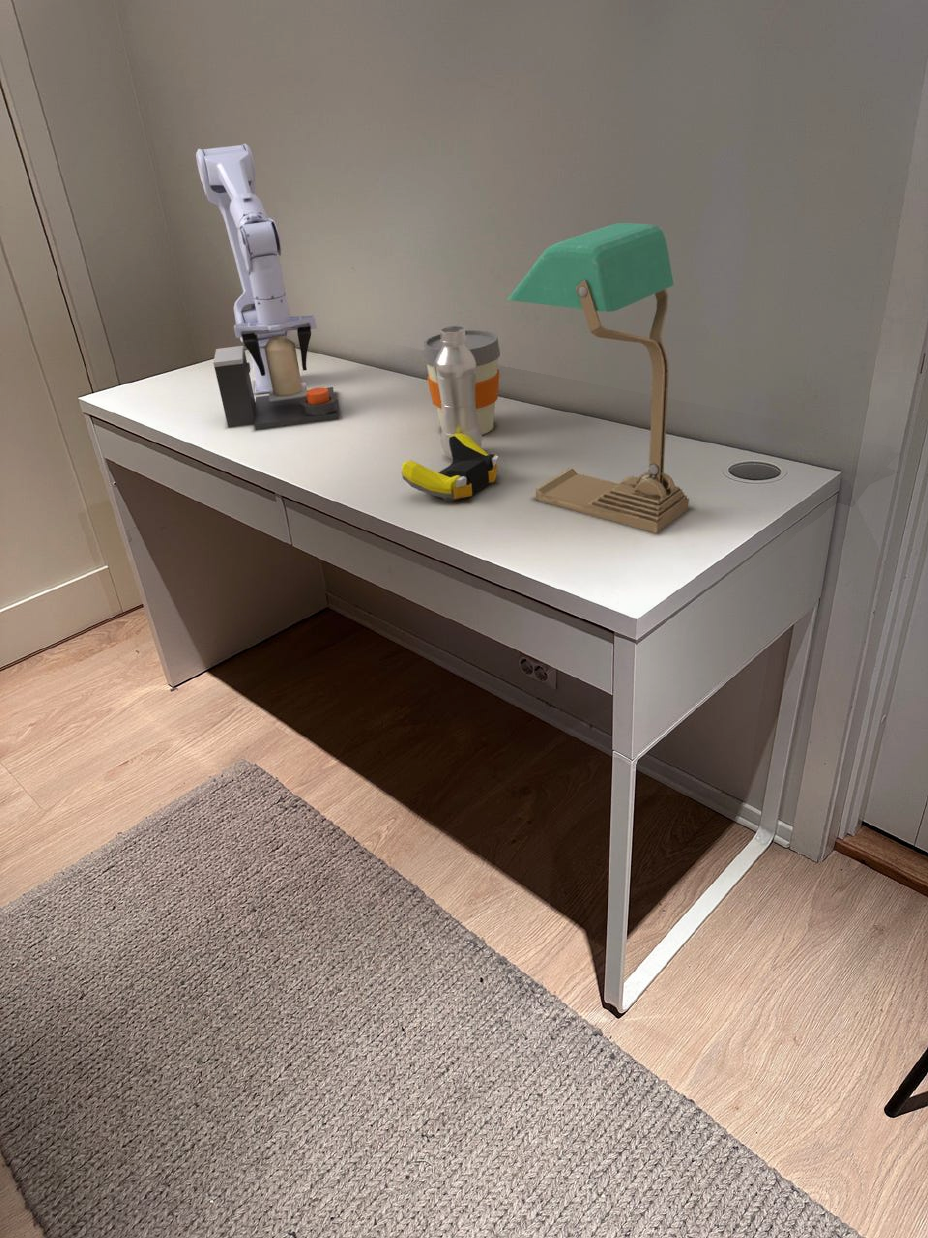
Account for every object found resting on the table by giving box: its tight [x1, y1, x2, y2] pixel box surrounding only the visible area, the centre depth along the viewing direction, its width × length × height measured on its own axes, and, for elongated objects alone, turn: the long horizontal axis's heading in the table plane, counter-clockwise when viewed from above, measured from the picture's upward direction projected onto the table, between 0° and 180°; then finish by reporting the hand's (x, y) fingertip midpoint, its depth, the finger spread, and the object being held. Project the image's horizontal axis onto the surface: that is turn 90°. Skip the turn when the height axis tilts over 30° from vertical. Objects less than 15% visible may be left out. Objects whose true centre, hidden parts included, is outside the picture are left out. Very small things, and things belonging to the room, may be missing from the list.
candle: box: [264, 335, 303, 396], centre depth 162 cm, size 6×6×10 cm
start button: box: [306, 386, 330, 404], centre depth 159 cm, size 4×4×2 cm
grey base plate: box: [253, 386, 340, 431], centre depth 164 cm, size 16×15×3 cm
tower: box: [212, 345, 308, 428], centre depth 162 cm, size 10×15×12 cm
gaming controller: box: [401, 433, 499, 502], centre depth 129 cm, size 15×6×10 cm
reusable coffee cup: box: [423, 329, 501, 436], centre depth 146 cm, size 13×13×15 cm
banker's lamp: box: [507, 222, 690, 534], centre depth 112 cm, size 16×21×35 cm
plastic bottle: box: [434, 325, 483, 459], centre depth 135 cm, size 6×7×20 cm
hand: (284, 371), depth 162 cm, fingers open, 7 cm apart
